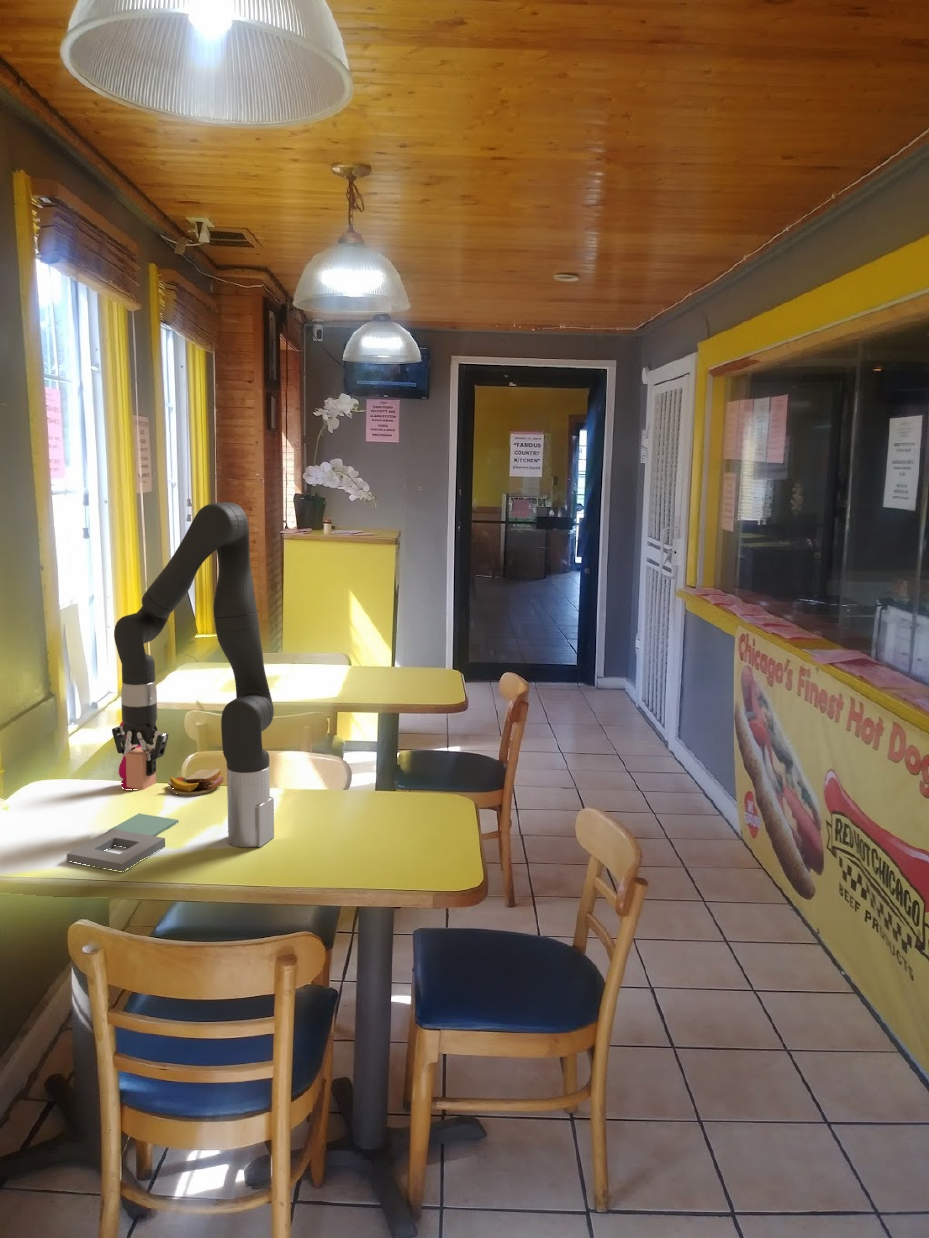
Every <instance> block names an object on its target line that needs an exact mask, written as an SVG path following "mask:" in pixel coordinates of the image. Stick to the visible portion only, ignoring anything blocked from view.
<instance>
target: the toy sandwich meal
mask: <svg viewBox="0 0 929 1238" xmlns="http://www.w3.org/2000/svg"><path fill="white" fill-rule="evenodd" d="M223 782H224V776H223V773H222V772H221V769H220V768H215V769H214V768H212V769H199V770H196V771H195V772H193V773H192V774H191V775H189V776H188V775H187V776H185V777H184V776H183V777H182V776H179V777H176V778H175V777H172V776H171V777H169V780H168V785H170V786H168V785H167V788H168V790H169V791H170V792H172V793H173V792H174V793H177V794H181V795H180V796H184V795H188V796H189V797H191V796H200V795H204V794H208V793H211V792H212V791H214V790H215V788H217V787H219V786H220V785H221V784H223ZM172 788H174V789H172ZM174 793H173V794H174ZM177 794H176V795H177ZM188 796H187V797H188Z"/></svg>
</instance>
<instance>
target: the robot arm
mask: <svg viewBox="0 0 929 1238" xmlns="http://www.w3.org/2000/svg"><path fill="white" fill-rule="evenodd" d="M250 546H251V545H250V525H249V519H248V517H247V514H246V512H245V511H244V509H243V508H242V507H241V506H240V505H239V504H237V503H235V502H229V501H227V502H225V501H224V502H223V501H222V502H214V503H208V504H206V505H204V506H202V507H201V508H200V509H199V510H198V511H197V513H196V514H195V516H194V518H193V519H192V522H191V523H190V525H189V527H188V529H187V530H186V533H185V535H184V537H183V539H182V540H181V542H180V544H179V545H178V547H177V548H176V550H175V552H174V554H173V555H172V557H171V558H170V560H169V561H168V563H167V564H166V566H165V567H164V568H163V570H162V571H161V572H160V573H159V574H158V576H157V577H156V578H155V579H154V581H153V582H151V584H150V586H149V587H148V588H147V590H146V591H145V592H144V594H143V596H142V597H141V605H142V606H141V607H140V608H139V610H137V612H135V613H131V614H127V615H124V616H122V617H121V618H119V619H118V620H117V621H116V623H115V625H114V632H113V638H114V644H115V647H116V650H117V654H118V658H119V660H120V663H121V689H120V690H121V691H120V696H121V697H120V698H121V703H120V704H121V722H122V721H123V722H124V724H123V726H120V725H119V726H116V727H114V728H111V733H112V737H113V740H114V743H115V748H116V751H117V753H118V754H122V755H123V756H125V757H126V753H127V752H130V751H132V750H134V749H136V747H137V746H138V745H140V746H141V748H142V751H144V753H145V754H146V759H147V760H146V775H147V776H151V775H153V774H154V773H155V772H156V773H157V759H159V758H162V757H164V755H165V751H166V748H167V744H168V739H169V736H170V735H169V733H168V732H166V731H164V732H161V731H159V730H158V727H157V721H158V720H157V719H158V704H157V703H158V702H157V701H158V699H157V697H158V695H157V693H158V692H157V684H156V664H155V663H156V662H155V659H154V657H153V656H152V655H150V654H148V653H147V654H146V649H145V644H147V643H150V642H152V641H153V640H155V639H156V638H157V637H159V635H160V634H161V632H162V631H163V629H164V627H165V626H166V624H167V622H168V619H169V618H170V615H171V613H172V612H174V610H175V609H176V608H177V606H178V605H179V604H180V603H181V602H182V600H183V599H184V598H185V596H186V595H187V594H188V592H189V590H190V589H191V586H192V585H193V582H194V579H195V577H196V575H197V573H198V571H199V569H200V568H201V566H202V565H203V563H204V562H205V561H206V560H207V559H208V558H209V556H211V555H212V554H213V553H214V552H215V551H216V554H217V561H218V576H217V582H216V586H215V587H216V588H215V591H214V592H215V593H214V596H213V597H214V598H213V605H212V609H213V610H212V611H213V612H212V613H213V620H214V628H215V634H216V638H217V642H218V644H219V645H220V649H222V652H223V654H224V656H225V658H226V659H227V661H228V663H229V665H230V666H231V669H232V672H233V677H234V683H235V693H236V695H235V696H236V697H235V698H234V699H232V700H231V701H229V702H228V703H227V704H226V705H225V706H224V708H223V709H222V713H221V719H220V723H221V724H220V726H221V727H220V729H221V730H220V731H221V732H220V733H221V741H222V742H221V745H222V754H223V756H224V757H223V758H224V759H225V761H226V787H227V789H226V790H227V791H226V792H227V794H226V795H227V834H228V840H227V841H228V843H229V844H230V845H232V846H234V847H238V848H239V847H240V848H253V847H257V848H262V846H264V845H266V844H267V843H268V842H269V841H271V840H272V839H273V838H275V804H274V801H275V800H274V797H273V796H271V795H270V794H271V792H270V790H271V789H270V788H271V786H270V785H271V783H270V781H271V779H270V778H271V777H270V770H271V769H270V754H269V752H268V751H267V750H265V749H263V737H262V735H263V734H262V732H264V731H265V730H267V729H268V728H269V726H270V725H271V724H272V721H274V720H273V719H274V714H275V711H274V704H273V699H272V695H271V691H270V688H269V687H270V686H269V683H268V679H267V675H266V670H265V664H264V653H263V647H262V639H261V632H260V631H261V630H260V623H259V616H258V615H259V614H258V608H257V604H256V603H257V602H256V596H255V588H254V579H253V574H252V568H251V567H252V566H251V552H250V551H251V550H250V549H251V548H250ZM125 735H126V736H127V739H126V736H125ZM148 744H149V745H148ZM150 752H151V753H150Z"/></svg>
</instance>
